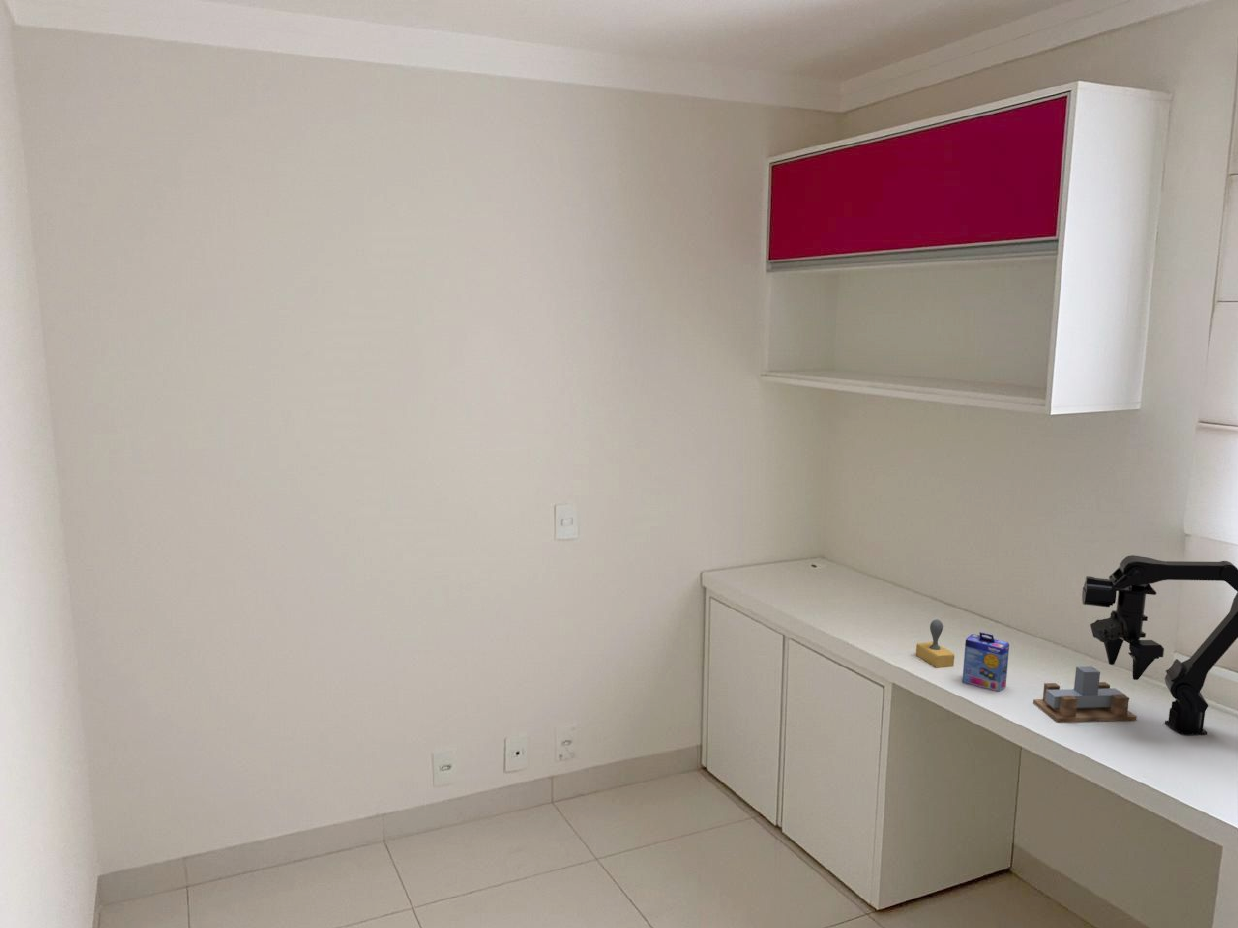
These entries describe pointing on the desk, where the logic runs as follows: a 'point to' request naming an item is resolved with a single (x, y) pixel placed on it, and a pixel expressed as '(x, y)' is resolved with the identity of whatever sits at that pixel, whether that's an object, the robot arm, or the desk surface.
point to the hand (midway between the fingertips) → (1123, 671)
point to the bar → (1084, 690)
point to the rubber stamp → (935, 648)
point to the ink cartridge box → (985, 662)
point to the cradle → (1074, 714)
